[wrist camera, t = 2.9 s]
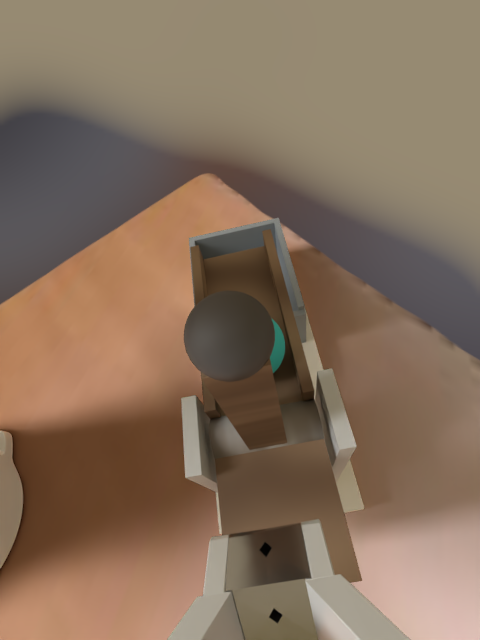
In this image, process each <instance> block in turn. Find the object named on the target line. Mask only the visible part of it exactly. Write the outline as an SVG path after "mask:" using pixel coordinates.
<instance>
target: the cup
mask: <svg viewBox="0 0 480 640" xmlns="http://www.w3.org/2000/svg"><path fill="white" fill-rule="evenodd" d="M269 229H271V232H272V236H273V240H274V243H275V247H276V251H277V255H278V258H279V262H280V266H281V269H282V273H283V277H284V280H285V284H286V288H287V291H288V295H289V299H290V302H291V306H292V310H293V313H294V317H295V321H296V324H297V328H298V332H299V335H300V339H301V343H305V342H306V312H305V305H304V302H303V299H302V295H301V292H300V289H299V285H298V282H297V278H296V275H295V272H294V268H293V265H292V262H291V258H290V255H289V252H288V248H287V245H286V241H285V238H284V235H283V231H282V228H281V225H280V221H279V219H278V218H276V219H272V220H267V221H263V222H258V223H254V224H249V225H245V226H240V227H236V228H232V229H227V230H223V231H218V232H214V233H209V234H205V235H201V236H196V237H192V238H189V246H190V247H193V246H197V245H198V246H199V248H200V251H201V254H202V256H203V259H208V258H212V257H217V256H221V255H226V254H230V253H235V252H239V251H244V250H248V249H253V248H257V247H262V246H264V240H263V233H262V231H264V230H269ZM190 258H191V251H190ZM191 270H192V262H191ZM192 281H193V274H192ZM193 293H194V286H193ZM194 305H195V297H194Z"/></svg>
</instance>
